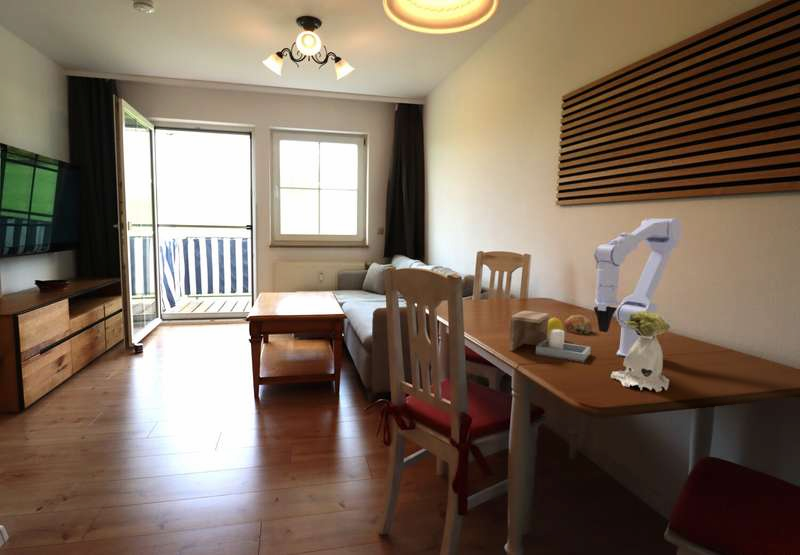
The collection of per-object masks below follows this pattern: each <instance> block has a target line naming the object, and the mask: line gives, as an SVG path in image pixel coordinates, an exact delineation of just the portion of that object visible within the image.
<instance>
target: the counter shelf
mask: <svg viewBox="0 0 800 555" xmlns="http://www.w3.org/2000/svg"><path fill="white" fill-rule="evenodd" d="M549 320H550V313H547V312H539V311H532V310H531V311H529V310H521V311H519V312H517V313H515V314H513V315H511V316H510V332H509V333H510V334H509V337H510V338H509V352H513V351H514V350H516V349H518V348H519V347H521V346H523V344H525V345H533V346H537V345H539V344H540V343H541V342H543V341H544V340H548V339H549V335H548V322H549Z"/></svg>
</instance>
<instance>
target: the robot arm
mask: <svg viewBox="0 0 800 555" xmlns="http://www.w3.org/2000/svg"><path fill="white" fill-rule="evenodd" d="M682 226H683V225H682V223H681V220H680V219H678V218H677V217H673V218H650V217H649V218H648V217H647V218H645V219H644V220H642V221H641V223H640V226H638V227H637V228H636V229H634V230H633V231H632V232H630V233H629V232H621V233H620V234H619V236H617V237H616V238H615V239H612V240H610V241H609V242H608V243H606V244H605V243H604V244H603V243H602V244H600V245H599V246H597V247H596V249H595V251H594V253H593V257H594V261H595V268H596V269H597V273H596V284H595V285H596V288H595V299H594V304H596V305H597V306H594V308H593V309H594V310H593V311H594V313H595V316H596V318H597V324H598V331H599V332H600V333H601V332H603V333H608V332H609V329H610V326H611V321H612V319H613V317H614V314H615V319H616V321H617V322H618V323H619V324H618V325H619V326H621V329H620V340H619V342H620V343H619V349H618V350H617V352H616V355H617V356H622V357H626V355H627V354H628V352H629V351H630V349H631V347H632V346H633V345H634V344H635V342H636V341H637V340H638V339H639V337H640V336H639V335H637V334H636V331H635V330H632V329H630V328H629V327H627V326H626V324H624V323H623V322H624V321H630V320H629V318H630V316H631V314H632V313H635V312H640V311H648V312H652V313H655V314H657V312H658V307H657V304H655V303H654V301H653V300H652V299H653V298H654V295H655V292H656V290H657V287H658V285H659V282H660V281H661V279H662V276H663V273H664V272H665V269H666V267H667V264H668V263H669V259H670V257H671V254H672V252H673V250H674V249H675V248H677V246H678V243H679V241H680V238H681V236H682V234H683V229H682ZM643 241H644V242H645V244H646V246H647V248H649V249H651V253H650V255H649V257H648V260H647V261H646V264H645V266H644V269H643V271H642V272H641V273H642V274H641V275H640V277H639V280H638V282H637V285H636V287H635V289H634V292H633V293H632V294H630V295H628V296H626V297H624V298H623V300H622V301H618V294H619V293H618V292H619V291H618V290H619V278H620V267H621V266H620V265H622V264H623V263H624V262H625V260H626V258H627V256H628V255H629V254H631V253H632V252H634V251H635V250H637V248H639V244H640V243H641V242H643ZM616 305H618V307H616ZM614 306H615V307H614Z"/></svg>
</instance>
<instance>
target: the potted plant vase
mask: <svg viewBox="0 0 800 555" xmlns="http://www.w3.org/2000/svg"><path fill="white" fill-rule="evenodd" d="M629 320H630V321H624V322H623V323H624V324H626V326H627V327H629V328H630V329H632V330H635V331H636V334H637V335H639V336H640V337H639V339H638V340H637V341H636V342H635V344H634V345H633V346H632V347H631V349H630V351H629V352H628V354H627V355H626V356H625V358H624V360H623V363H622V364H623V366H624V367H626V368H625V370H618V371H615V370H614V371H612V373H611V374H610V378H611V379H616V380H618V381H619V382H621V385H622V386H623V387H628V388H630V386H632V387H634V386H638V388H640V391H642V390H643V388H647V389H649V391H652V390H653V389H654V390H655V392H657V393H659V392H661V391H662V390H663V388H664V390H665V391H667V390H668V389H669V385H670V379H669V378H667V377H666V376H665V375H664V374H662V371H663V366H664V363H663V362H664V361H663V360H664V355H663V350H662V347H661V344H660V342H659V339H658V338H657V336H658V335H661V334H664V333H666V332H668V330H669V329H670V327H671V326H670V324H669V323H668V322H667V321H665V320H664V319H663V318H661V316H660V315H659V314H657V313H656V314H655V313H652V312H648V311H640V312H635V313H632V314H631V316H630V318H629ZM662 387H663V388H662Z"/></svg>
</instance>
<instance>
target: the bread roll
mask: <svg viewBox="0 0 800 555" xmlns="http://www.w3.org/2000/svg"><path fill="white" fill-rule="evenodd" d="M592 329H593V328H592V323H591V321H590V319H588V318H587V317H585V316H584V315H582V314H575V315H570V316H569V317H568V318H567V319H565V320H564V325H563V330H564V331H565V332H568V333H570V332H571V334H580V335H581V334H582V335H583V334H585V335H586V334H590V333H591V332H592Z"/></svg>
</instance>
